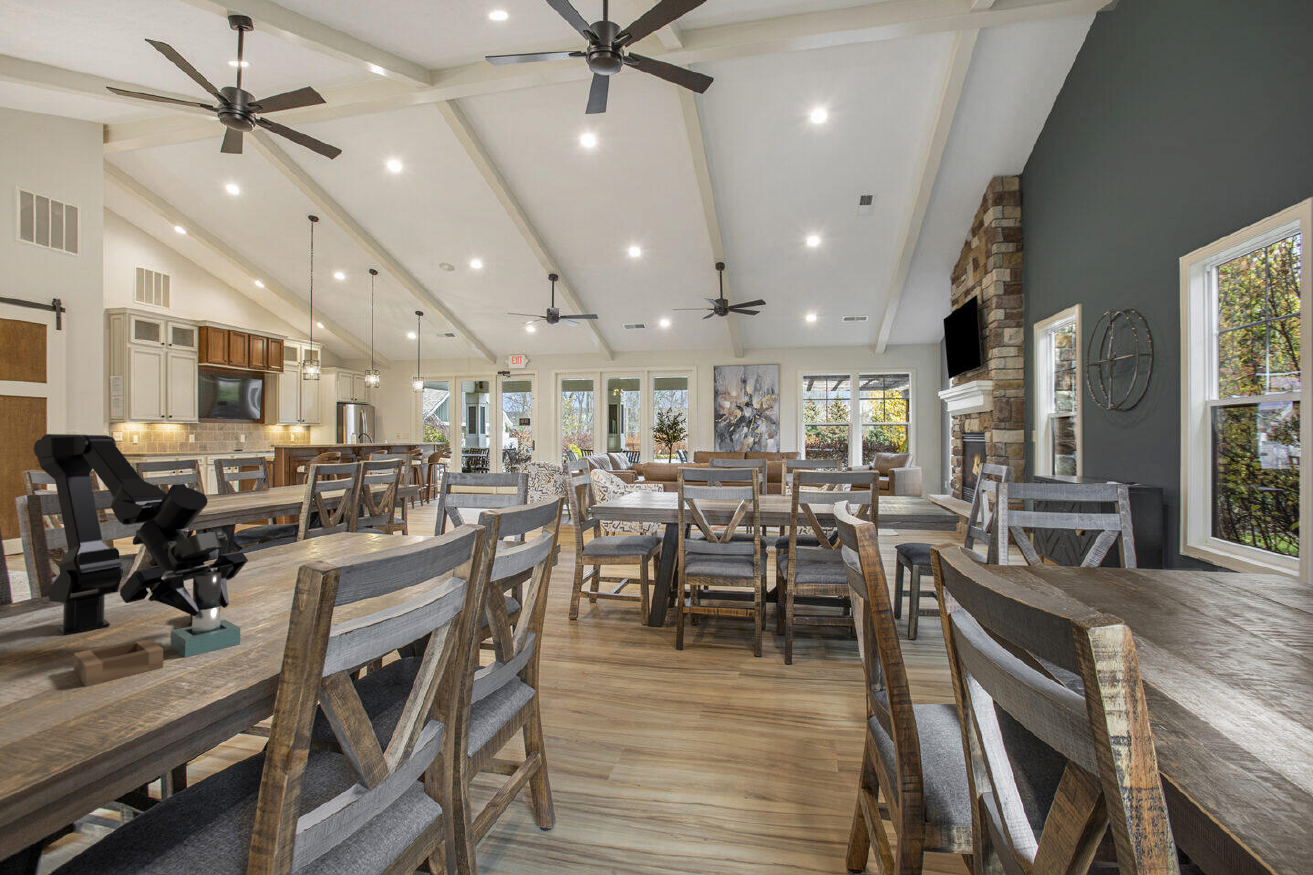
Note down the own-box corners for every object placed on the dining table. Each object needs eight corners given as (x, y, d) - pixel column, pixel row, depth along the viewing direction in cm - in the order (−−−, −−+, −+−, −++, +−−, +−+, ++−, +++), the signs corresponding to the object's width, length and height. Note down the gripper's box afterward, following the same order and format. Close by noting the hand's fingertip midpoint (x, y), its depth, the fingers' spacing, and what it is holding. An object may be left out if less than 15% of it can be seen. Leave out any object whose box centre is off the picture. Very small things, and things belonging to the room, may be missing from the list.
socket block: (170, 647, 101) (171, 630, 101) (224, 634, 107) (224, 619, 107) (185, 657, 96) (185, 639, 96) (240, 643, 103) (240, 627, 103)
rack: (73, 671, 90) (74, 653, 90) (147, 654, 97) (147, 637, 97) (85, 686, 85) (86, 666, 85) (163, 667, 92) (163, 648, 92)
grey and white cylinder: (188, 646, 101) (190, 574, 102) (215, 640, 105) (216, 570, 105) (195, 651, 99) (197, 577, 99) (223, 644, 102) (224, 573, 103)
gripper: (133, 523, 94) (179, 594, 91) (241, 511, 112) (283, 569, 109) (99, 567, 96) (144, 638, 93) (211, 548, 114) (252, 606, 111)
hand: (212, 610), depth 102 cm, fingers open, 5 cm apart
